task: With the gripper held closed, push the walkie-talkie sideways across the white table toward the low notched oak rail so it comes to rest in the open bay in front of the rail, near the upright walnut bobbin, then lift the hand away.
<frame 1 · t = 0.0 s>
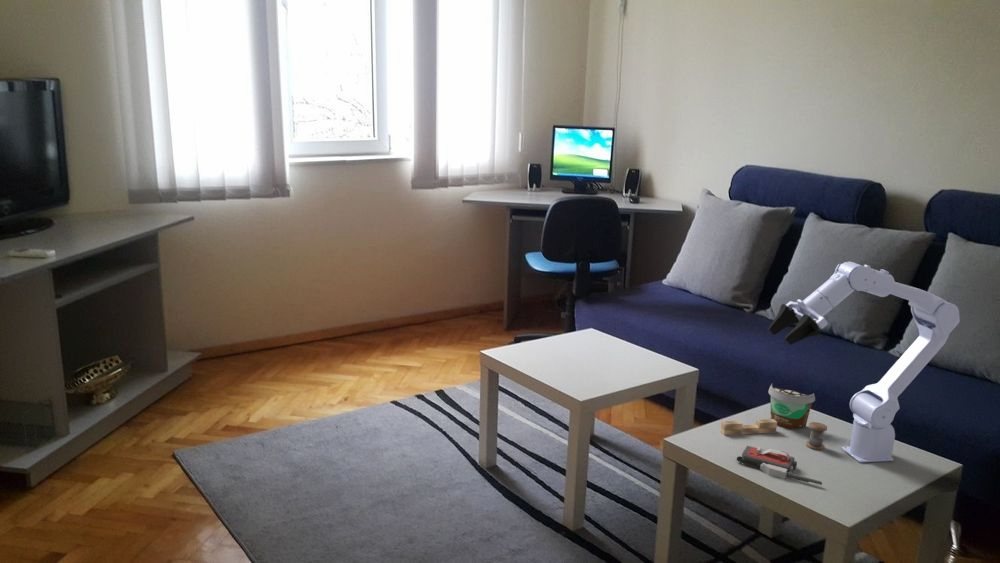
hand: (778, 336, 183), 32 cm above the table, tool tilted 50°, fingers open, 7 cm apart
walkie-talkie: (779, 472, 186), on the table
bobbin: (815, 446, 199), on the table
food container: (785, 426, 211), on the table
notched board: (748, 432, 206), on the table
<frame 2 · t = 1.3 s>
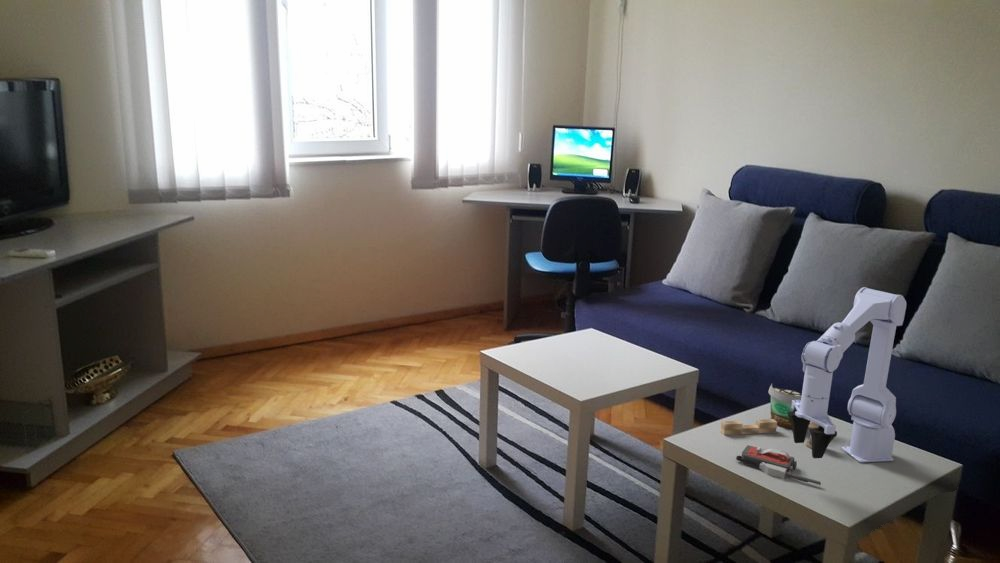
hand: (807, 449, 176), 9 cm above the table, tool pointing down, fingers open, 7 cm apart
nothing on the table moved.
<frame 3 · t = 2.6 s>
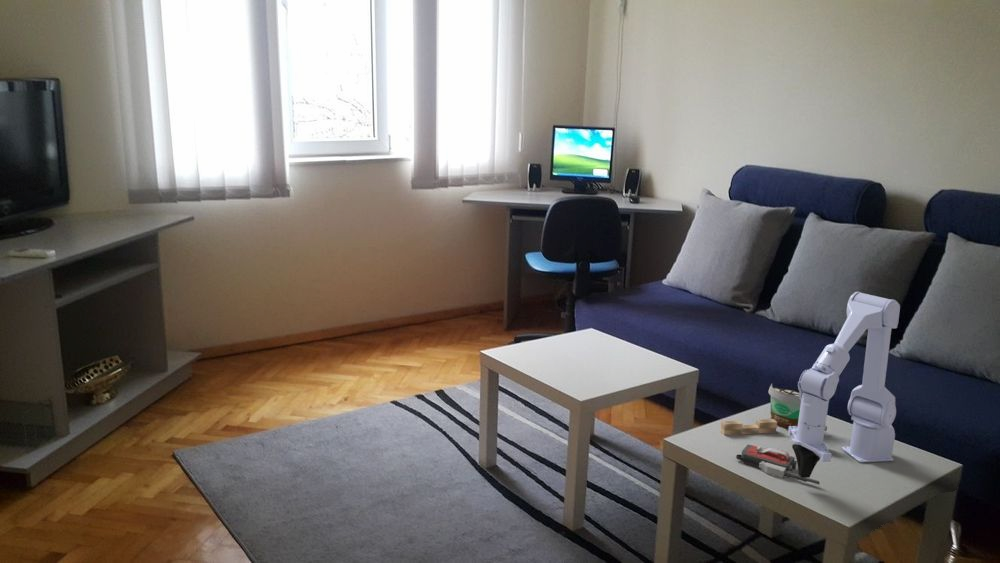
hand: (804, 476, 177), 3 cm above the table, tool pointing down, fingers closed
nothing on the table moved.
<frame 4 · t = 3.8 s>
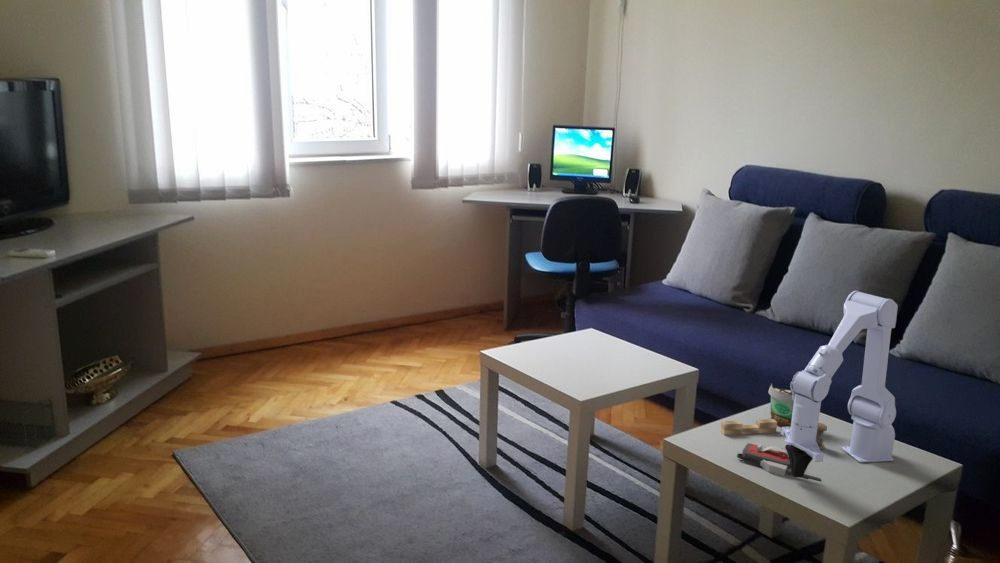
hand: (797, 476, 180), 1 cm above the table, tool pointing down, fingers closed
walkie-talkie: (779, 469, 187), on the table
everything else where it was.
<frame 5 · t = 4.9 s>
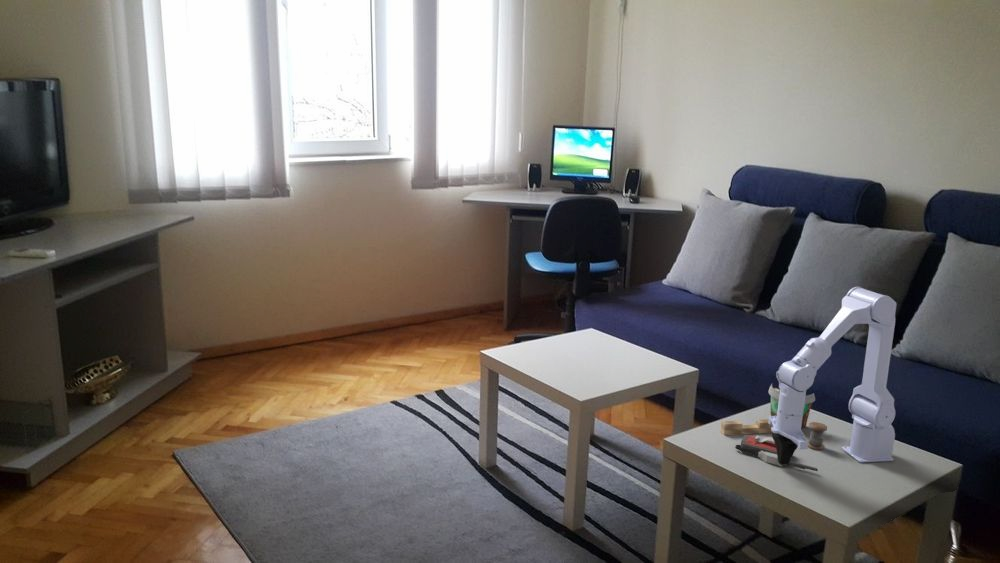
hand: (783, 463, 186), 1 cm above the table, tool pointing down, fingers closed
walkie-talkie: (776, 459, 192), on the table, touching gripper
everything else where it was.
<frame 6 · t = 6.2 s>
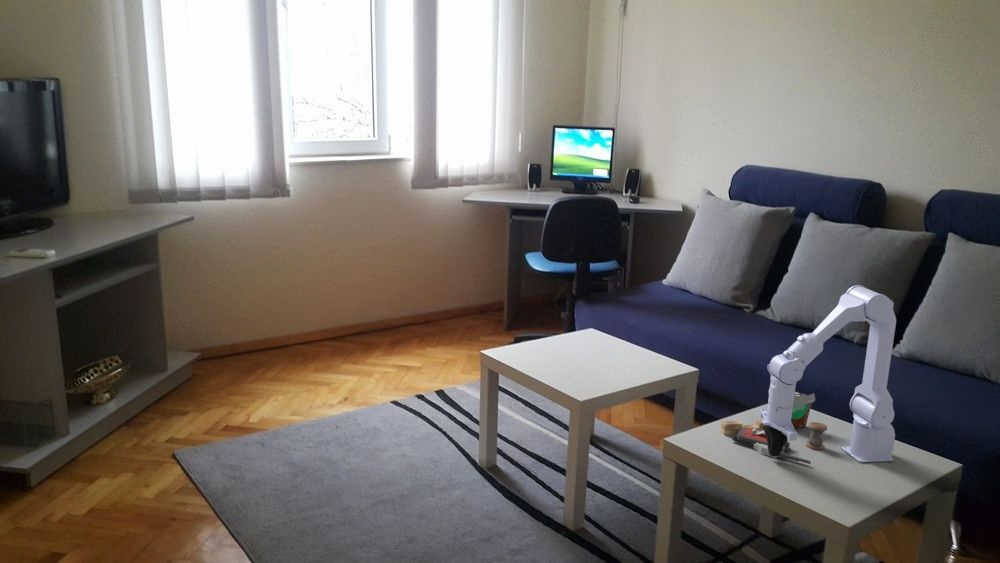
hand: (773, 454, 190), 1 cm above the table, tool pointing down, fingers closed
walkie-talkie: (772, 452, 197), on the table
everything else where it was.
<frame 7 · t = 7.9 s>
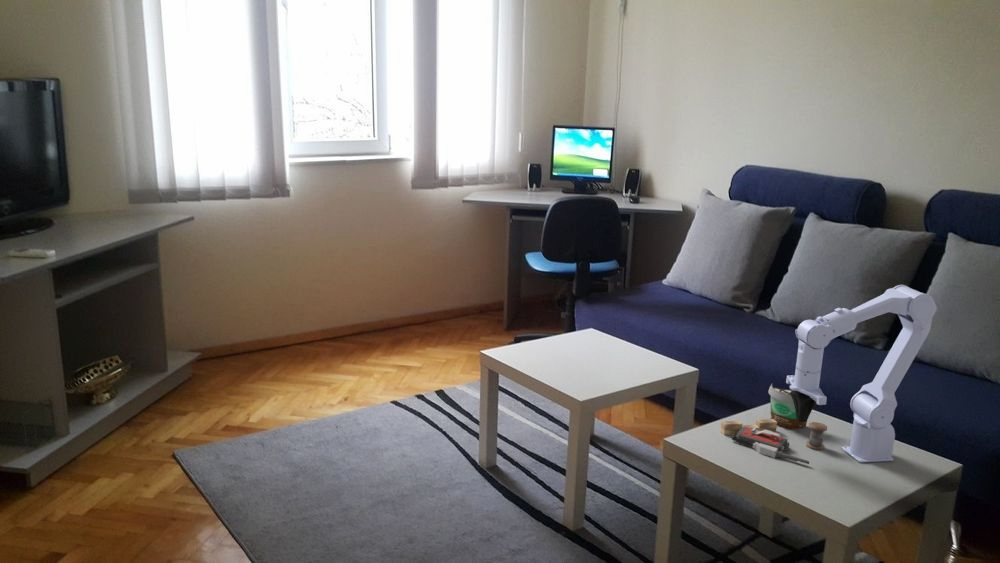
hand: (801, 420, 191), 10 cm above the table, tool pointing down, fingers closed
nothing on the table moved.
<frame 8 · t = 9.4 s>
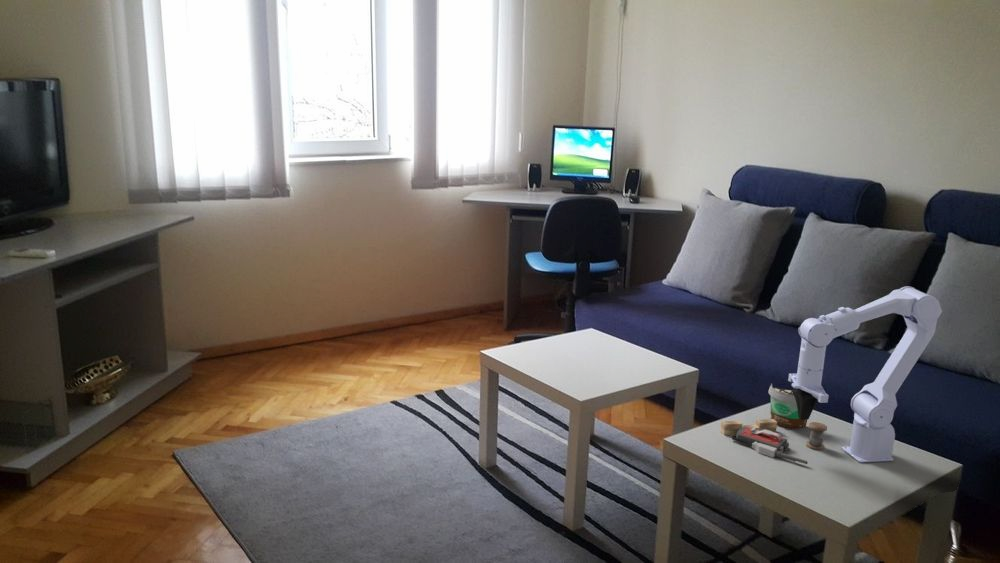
hand: (803, 418, 192), 10 cm above the table, tool pointing down, fingers closed
nothing on the table moved.
at the end: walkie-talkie inside the target area (3.8 cm from its centre), on the table; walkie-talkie moved 11.1 cm from its start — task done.
